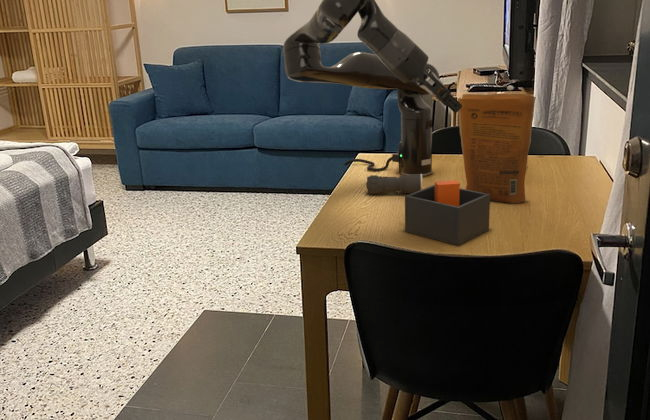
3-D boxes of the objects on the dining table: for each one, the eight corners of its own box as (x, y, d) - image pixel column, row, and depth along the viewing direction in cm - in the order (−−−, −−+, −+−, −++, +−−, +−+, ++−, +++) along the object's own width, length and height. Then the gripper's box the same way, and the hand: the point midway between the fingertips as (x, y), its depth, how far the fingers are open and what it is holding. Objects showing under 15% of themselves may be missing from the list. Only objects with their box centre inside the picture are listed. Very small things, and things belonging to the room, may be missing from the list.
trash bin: (404, 231, 154) (404, 196, 151) (436, 217, 162) (437, 183, 159) (458, 245, 144) (458, 208, 141) (489, 229, 152) (490, 194, 150)
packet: (437, 231, 151) (437, 184, 148) (434, 226, 154) (434, 181, 151) (458, 229, 152) (459, 183, 148) (455, 225, 154) (456, 179, 151)
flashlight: (365, 196, 181) (365, 177, 179) (367, 191, 186) (366, 172, 184) (422, 196, 179) (422, 177, 177) (422, 190, 184) (422, 171, 182)
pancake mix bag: (526, 207, 166) (531, 96, 157) (454, 198, 176) (456, 92, 167) (533, 200, 171) (539, 91, 163) (463, 191, 181) (465, 89, 173)
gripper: (384, 65, 147) (435, 113, 152) (394, 72, 134) (449, 125, 138) (407, 39, 146) (458, 88, 150) (419, 44, 132) (475, 98, 137)
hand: (454, 106), depth 144 cm, fingers open, 8 cm apart
